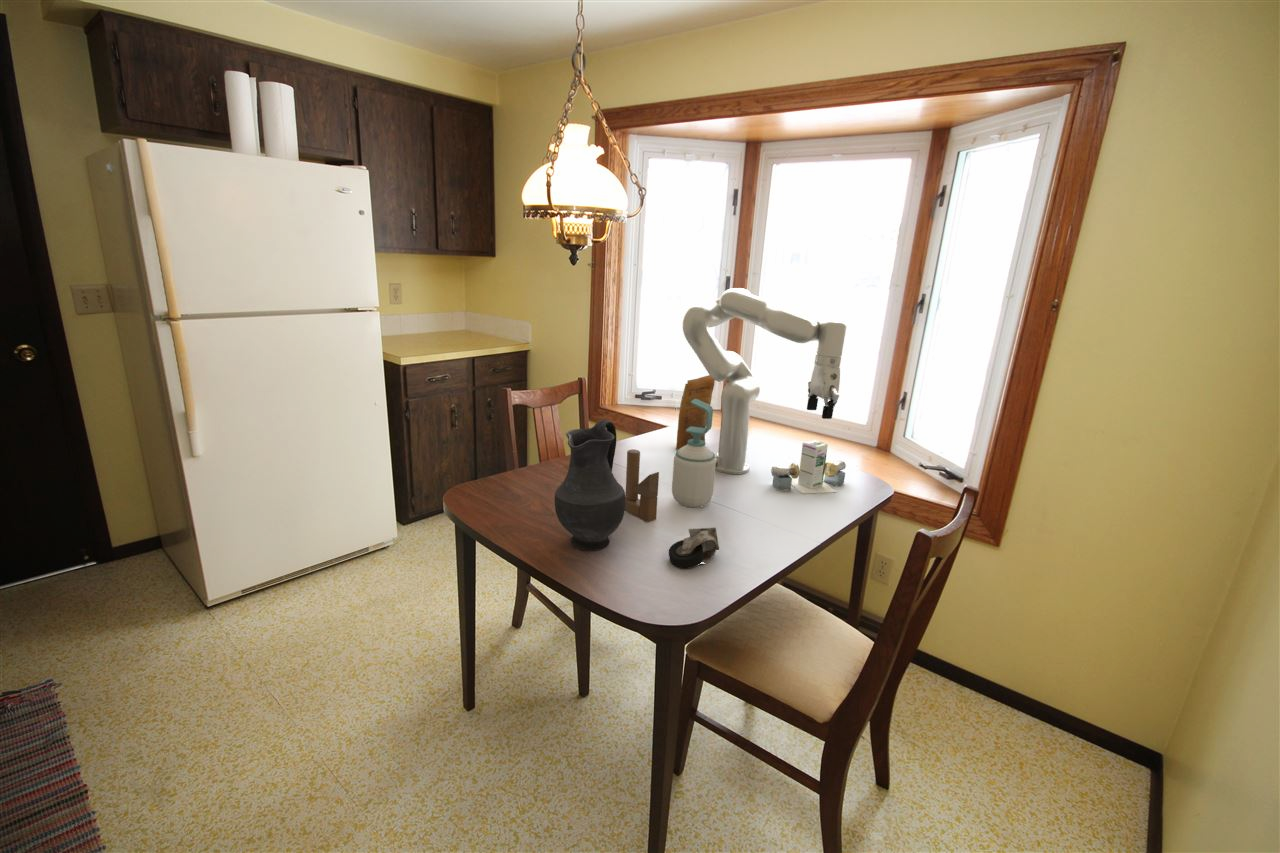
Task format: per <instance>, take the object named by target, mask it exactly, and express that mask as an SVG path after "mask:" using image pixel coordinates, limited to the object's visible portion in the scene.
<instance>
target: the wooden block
mask: <svg viewBox="0 0 1280 853" xmlns="http://www.w3.org/2000/svg"><path fill="white" fill-rule="evenodd" d="M640 458H641V451H640V450H639V449H628V450H627V452H626V471H625V472H626V474H625V475H626V476H625V498H626V504H625V513H628V514H630V515H632V516H634V517H636V518H638V519H640V520H642V521H643V522H645V523H651V522H653V521H656V520H657V510H658V499H659V498H658V495H659V494H658V493H659V480H660V479H659V477H660V472H659V471H657V472H655V473H651V474H648V475H647V476H646V477H645V478H644V479H643V480H642V481H640V460H641V459H640ZM639 495H640V496H639Z"/></svg>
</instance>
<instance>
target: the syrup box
mask: <svg viewBox="0 0 1280 853" xmlns="http://www.w3.org/2000/svg"><path fill="white" fill-rule="evenodd" d="M827 453H828V444H827V443H825V442H822V441H818V440H811V441H806V442H802V447H801V455H800V462H799V463H800V464H799V476H798V478H799V479H798V484H800V485H803V486H805V487H807V488H810V489H813V488H816V487H819V486H822V485H823V482H824V478H825V474H824V470H825V463H827V462H826V461H827Z"/></svg>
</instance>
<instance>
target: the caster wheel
mask: <svg viewBox="0 0 1280 853" xmlns="http://www.w3.org/2000/svg"><path fill="white" fill-rule="evenodd" d="M688 535H689V536H688V537H684V538H683V539H682V540H679V541H676V542H674V543H672V545H671V546H670V547H669V548H668V557H669V562H670V564H671V565H672V566H673V565H674V566H673V567H674V568H678V569H692V568H695V567H696V566H699V565H698V564H700V563H701V562H704V563H707V564H708V563H709V562H710V561H711V560H712V559H713V557H714V556H715V553H717V552H716V551H720V546H719V541H718V540H719V539H718V533H717V528H716V527H700V528H698V527H697V528H689V529H688Z"/></svg>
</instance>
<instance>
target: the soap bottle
mask: <svg viewBox="0 0 1280 853" xmlns="http://www.w3.org/2000/svg"><path fill="white" fill-rule="evenodd" d="M691 404H692V405H694V406H696V407H699V408H701V409H703V410H704V411H706V414H707V421H706V428H700V427H693V426H691V427H689V428H688V429H686V432H688V433H691V435H692V436H693V439H690V440H688V443H687V445H686V446H684V447H682V448H680V449H676V452H675V455H674V458H673V468H672V469H673V470H672V483H671V486H672V487H671V494H672V496H673V500H675V502H676V503H678V505H680V504H681V505H680V506H682V507H685V506H686V507H685V508H690V507H691V508H692V509H697V508H698V507H699V508H702V506H703V507H705V506H706V505H708V504H709V503H710V502H711V500H712V498H713V496H714V489H715V488H714V487H715V486H714V485H715V477H716V476H715V474H716V470H715V466H716V458H715V455H716V453H714V452H713V451H712V450H711V449H710V448H708V447H707V446H706V440H705V441H703V440H700V437H701V436H703V435H704V434H705V435H706V434H707V433H708V432H709V431H710V430H711V429H712V427H713V426H712V424H713V415H714V408H713V406H711V404H710V405H709V404H707V403H705V402H702V401H700V400H698V399H694V400H692V401H691ZM691 508H690V509H691ZM699 508H698V509H699Z"/></svg>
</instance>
